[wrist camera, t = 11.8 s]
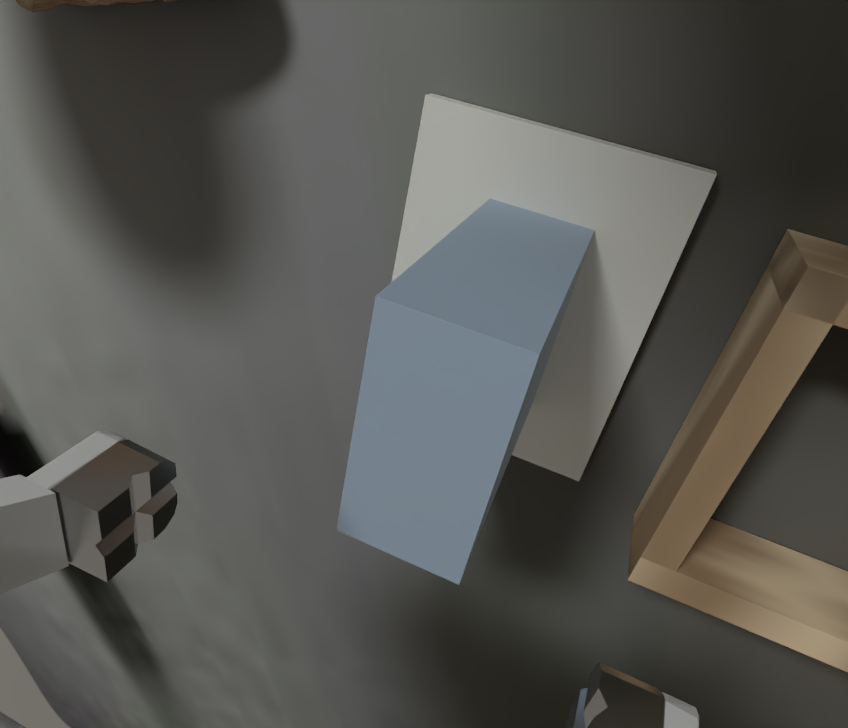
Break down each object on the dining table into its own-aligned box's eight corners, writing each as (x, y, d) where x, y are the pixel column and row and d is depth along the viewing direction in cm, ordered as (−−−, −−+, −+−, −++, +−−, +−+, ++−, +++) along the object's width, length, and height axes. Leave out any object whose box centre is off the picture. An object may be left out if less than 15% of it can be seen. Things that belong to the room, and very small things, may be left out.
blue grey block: (594, 230, 19) (539, 354, 12) (531, 406, 23) (459, 585, 15) (490, 198, 20) (375, 295, 12) (445, 373, 24) (336, 530, 16)
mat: (715, 171, 18) (716, 174, 17) (580, 472, 24) (578, 481, 24) (432, 93, 20) (425, 94, 19) (376, 392, 26) (370, 399, 25)
